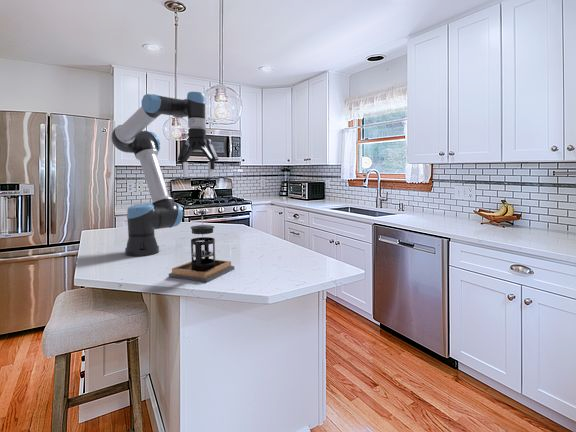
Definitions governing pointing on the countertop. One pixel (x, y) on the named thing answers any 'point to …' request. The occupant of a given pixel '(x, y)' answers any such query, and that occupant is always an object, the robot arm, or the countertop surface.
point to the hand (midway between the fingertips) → (198, 176)
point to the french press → (199, 253)
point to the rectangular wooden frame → (187, 273)
